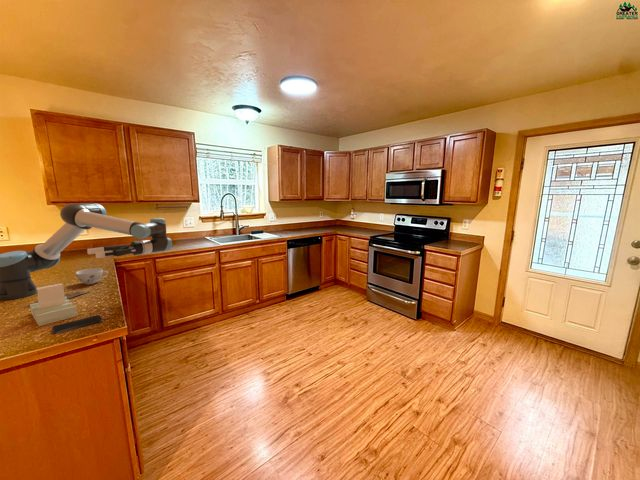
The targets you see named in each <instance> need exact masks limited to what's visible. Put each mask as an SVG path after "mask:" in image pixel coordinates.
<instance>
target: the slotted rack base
mask: <svg viewBox="0 0 640 480" xmlns="http://www.w3.org/2000/svg"><path fill="white" fill-rule="evenodd" d="M65 301H66V304H64V305H59V306H55V307H51V308H46V309H42V310H40V308H39V303H34V302H33V303H34V304H32V303H29V305H30V306H29V308H30V313H31V315H32V317H33V318H34V320H35V322H36V323H37V325H38V327H41V326H45V325H49V324H52V323H56V322H57V323H58V322H60V320H61V321H63V320H68V319H71V318H74V317H75V318H77V317H78V311H77V306H76V305H74V304H73V302H71V301H70V299H67V297H65Z"/></svg>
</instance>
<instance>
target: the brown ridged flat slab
mask: <svg viewBox="0 0 640 480" xmlns="http://www.w3.org/2000/svg"><path fill="white" fill-rule="evenodd" d="M86 293H91V291H88V290H87V291H86V290H78V291H75V292H70V293H66V294H65V293H64V295H65V297H67V300H70V299H73V298H76V297H77V296H81V295H83V294H86ZM34 303H39V302H38V300H36V301H34V302H32V303H31V304H34ZM28 307H29V308H30V304H27V305H25V306H22V307H21V308H22V309H24V308H28Z"/></svg>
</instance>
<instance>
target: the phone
mask: <svg viewBox="0 0 640 480" xmlns="http://www.w3.org/2000/svg"><path fill="white" fill-rule="evenodd" d="M102 322H103V319H102V317H101V315H99V314H97V315H93V316H88V317H84V318H81V319H77V320H76V319H75V320H73V321H69V322H64V323H60V324H57V325H56V324H55V325H53V326H52V327H51V329H52V335H57V334H63V333H66V332H69V331H74V330H77V329H81V328H85V327H88V326H92V325H97V324H100V323H102Z"/></svg>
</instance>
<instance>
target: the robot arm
mask: <svg viewBox="0 0 640 480" xmlns="http://www.w3.org/2000/svg"><path fill="white" fill-rule="evenodd" d="M59 213H60V214H59V216H60V218H61V219H62V221H63V222H64V224H63V225H62V226H60V228H59V229H57V230H56V232H54V233H53V234H52V235H50V237H49V238H48V239H47V240H46V241H44V243H40V244H37V245H35V247H34V248H33V249H31V250H29V251H26V250H14V251H8V252H7V251H6V252H2V253H0V301H10V300H15V299H23V298H25V297H29V296H33V295H35V294H37V290H36V288H38V286H37V285H36V284H35V282H34V281H33V280H32V277H31V273H34V272H39V271H42V270H46V269H50V268H52V267H55V266H56V265H58V264H59V263H60V261H61V252H63V251H64V250H65V248H66V247H68V246H69V245H70V244H71V243H72V242H74V241H75V239H77V238H78V237H79V236H80V235H81V234H82V233H83V232H84V231H85V230H91V229H92V228H95V229H101V230H105V231H108V232H109V231H110V232H114V233H118V234H119V233H120V234H123V235H128V236H132V237H133V238H134V239H137V240H134V241H131V243H130V244H129V245H128V244H122V245H109V246H107V245H106V246H105V245H104V246H103V247H94V248H93V247H92V248H87V249H86V250H87V251H86V252H87V255H95V259H102V258H109V257H120V256H126V255H130V254H132V255H134V256H137V255H138V256H139V255H145V254H146V255H149V254H152V253H158V252H166V251H169V250H171V249H172V248H173V242H172V239H171V238H170V237H168V236H167V224H166V219H165V218H163V217H156V218H155V217H154V218H150V220H149V222H147V223H146V222H145V223H144V222H143V223H142V222H140V221H139V222H138V221H134V220H129V219H125V218H120V217H116V216H111V215H107V210H106V208H105V207H104V206H103V205H102V204H99V203H96V202H95V203H94V202H82V203H81V202H80V203H79V202H76V203H74V202H73V203H68V204H66V205H64V206H63V207H62V208H61V209H60V212H59ZM147 238H151V239H147ZM141 239H142V240H141Z"/></svg>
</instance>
